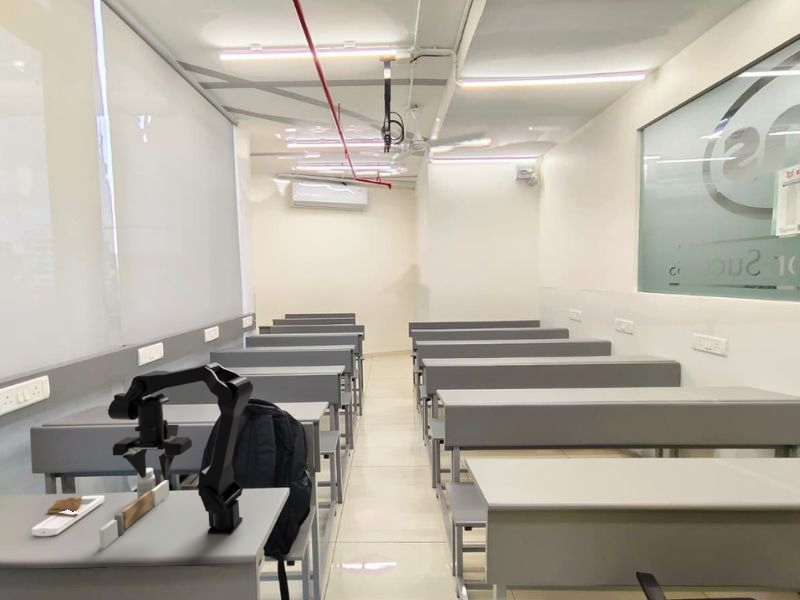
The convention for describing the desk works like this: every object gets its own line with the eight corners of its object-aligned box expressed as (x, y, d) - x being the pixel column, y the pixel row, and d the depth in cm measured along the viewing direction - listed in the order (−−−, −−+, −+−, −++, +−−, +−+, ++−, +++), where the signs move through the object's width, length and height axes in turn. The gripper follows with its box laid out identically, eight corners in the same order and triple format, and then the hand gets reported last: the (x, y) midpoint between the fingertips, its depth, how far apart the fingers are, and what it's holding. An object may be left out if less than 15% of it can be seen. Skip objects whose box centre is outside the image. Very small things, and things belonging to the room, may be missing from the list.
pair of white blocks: (170, 494, 125) (169, 478, 124) (106, 548, 100) (104, 528, 100) (164, 494, 125) (163, 478, 125) (99, 547, 100) (97, 527, 100)
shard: (78, 517, 115) (77, 511, 115) (42, 526, 111) (41, 520, 111) (83, 499, 124) (83, 494, 124) (51, 507, 120) (50, 501, 120)
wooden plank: (125, 528, 107) (124, 511, 107) (117, 528, 107) (116, 511, 107) (153, 506, 118) (152, 490, 117) (145, 506, 118) (144, 490, 118)
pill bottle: (158, 497, 123) (156, 470, 123) (140, 504, 120) (138, 476, 119) (153, 492, 127) (151, 465, 126) (135, 498, 123) (133, 471, 123)
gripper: (201, 409, 117) (204, 463, 118) (139, 410, 119) (142, 463, 119) (177, 423, 106) (181, 483, 107) (108, 424, 107) (113, 482, 108)
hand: (154, 477), depth 111 cm, fingers open, 6 cm apart
